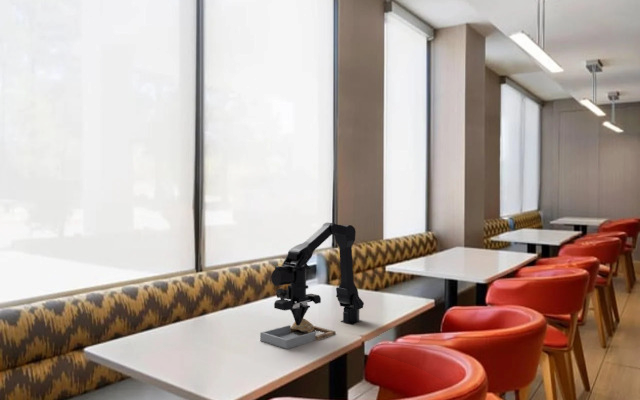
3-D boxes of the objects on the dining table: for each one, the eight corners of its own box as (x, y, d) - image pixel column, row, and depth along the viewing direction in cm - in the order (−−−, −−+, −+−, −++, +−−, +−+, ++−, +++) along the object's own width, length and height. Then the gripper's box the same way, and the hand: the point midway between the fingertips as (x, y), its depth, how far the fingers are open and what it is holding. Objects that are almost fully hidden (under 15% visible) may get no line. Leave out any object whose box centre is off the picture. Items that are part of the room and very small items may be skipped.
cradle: (304, 327, 194) (304, 323, 194) (335, 335, 182) (335, 331, 182) (286, 332, 187) (286, 328, 187) (317, 341, 176) (317, 336, 176)
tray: (289, 332, 186) (289, 325, 186) (315, 340, 176) (315, 332, 176) (260, 340, 176) (260, 332, 176) (286, 349, 166) (286, 340, 166)
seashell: (304, 332, 180) (292, 316, 185) (298, 342, 183) (287, 327, 187) (320, 327, 186) (308, 312, 190) (315, 337, 188) (303, 322, 193)
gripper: (301, 277, 192) (301, 317, 192) (264, 283, 179) (264, 325, 179) (321, 280, 184) (321, 322, 184) (284, 287, 171) (284, 331, 171)
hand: (298, 325), depth 180 cm, fingers closed
